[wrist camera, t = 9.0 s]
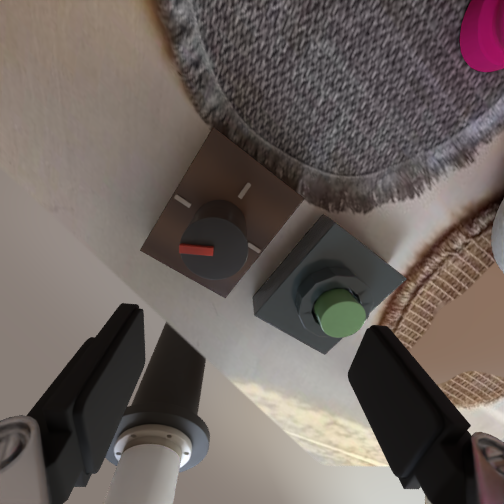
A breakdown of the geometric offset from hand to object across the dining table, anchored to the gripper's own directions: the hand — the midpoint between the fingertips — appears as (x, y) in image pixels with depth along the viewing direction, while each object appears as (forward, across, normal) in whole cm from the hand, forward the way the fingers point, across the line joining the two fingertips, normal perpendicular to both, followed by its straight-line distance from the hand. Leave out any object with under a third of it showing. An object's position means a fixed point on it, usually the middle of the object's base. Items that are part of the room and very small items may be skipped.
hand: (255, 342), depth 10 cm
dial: (+12, +2, -1) cm, 12 cm away
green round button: (+10, -9, +5) cm, 15 cm away
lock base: (+15, +2, -1) cm, 15 cm away
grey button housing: (+15, -9, +5) cm, 18 cm away
